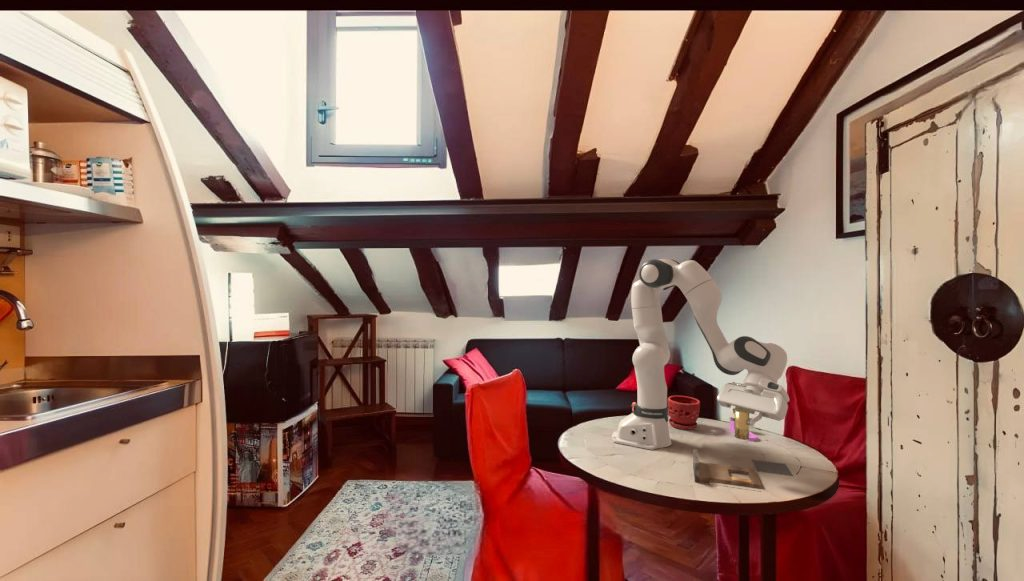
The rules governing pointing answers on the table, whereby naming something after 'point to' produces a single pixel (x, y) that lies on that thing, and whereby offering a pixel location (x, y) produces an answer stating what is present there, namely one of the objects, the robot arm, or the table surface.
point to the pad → (772, 467)
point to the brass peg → (741, 424)
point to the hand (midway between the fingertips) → (740, 422)
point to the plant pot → (683, 411)
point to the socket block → (723, 474)
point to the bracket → (751, 435)
